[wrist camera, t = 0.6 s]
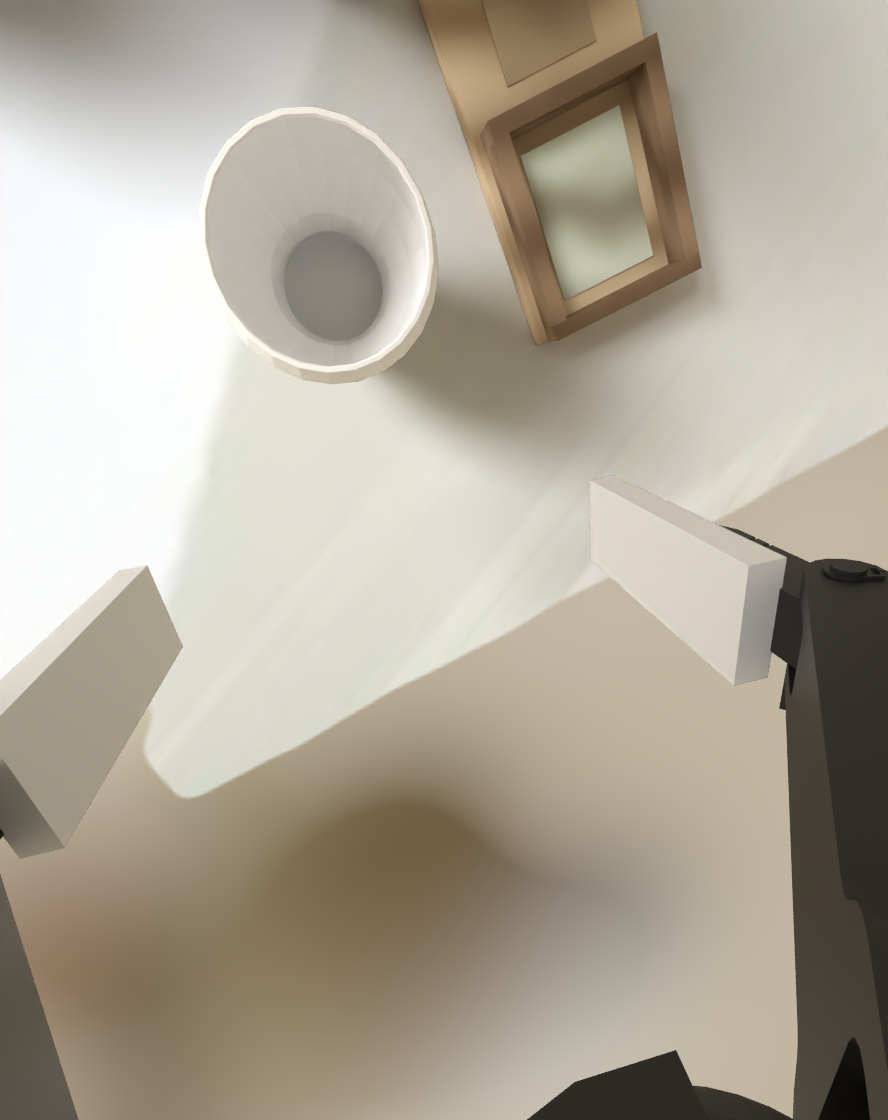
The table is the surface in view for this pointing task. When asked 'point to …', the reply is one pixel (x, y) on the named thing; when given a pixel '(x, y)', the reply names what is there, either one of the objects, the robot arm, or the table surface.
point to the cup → (318, 245)
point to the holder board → (569, 150)
